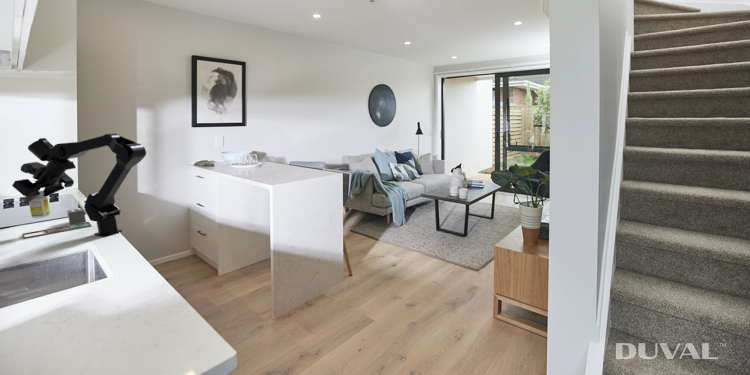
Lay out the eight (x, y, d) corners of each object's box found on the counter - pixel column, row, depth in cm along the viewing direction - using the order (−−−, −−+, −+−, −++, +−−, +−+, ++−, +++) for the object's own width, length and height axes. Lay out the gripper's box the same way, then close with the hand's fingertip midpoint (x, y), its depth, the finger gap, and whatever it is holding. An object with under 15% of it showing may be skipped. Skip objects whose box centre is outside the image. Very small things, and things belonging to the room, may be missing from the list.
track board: (88, 222, 153) (88, 221, 152) (91, 226, 148) (91, 225, 148) (22, 234, 139) (22, 233, 139) (23, 239, 134) (23, 237, 134)
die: (84, 219, 158) (81, 207, 157) (85, 221, 154) (83, 209, 153) (69, 222, 154) (66, 209, 153) (70, 224, 151) (68, 211, 150)
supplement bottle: (36, 218, 136) (30, 193, 134) (29, 217, 138) (23, 192, 136) (53, 215, 141) (48, 190, 139) (46, 213, 143) (41, 189, 141)
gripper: (61, 152, 143) (41, 180, 147) (10, 158, 125) (-11, 190, 129) (83, 171, 144) (63, 198, 148) (36, 180, 126) (15, 211, 129)
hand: (34, 199), depth 138 cm, fingers closed on supplement bottle, 5 cm apart
